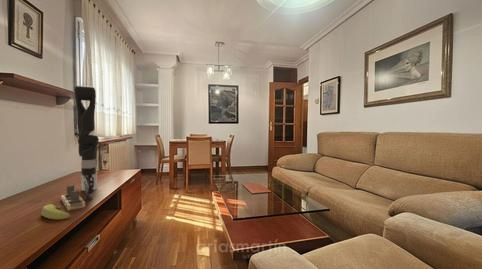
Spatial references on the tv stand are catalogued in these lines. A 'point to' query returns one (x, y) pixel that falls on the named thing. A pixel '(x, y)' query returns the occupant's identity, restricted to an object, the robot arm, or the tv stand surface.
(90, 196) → the peg
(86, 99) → the robot arm
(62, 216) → the banana
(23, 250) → the tv stand surface
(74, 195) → the pin board
